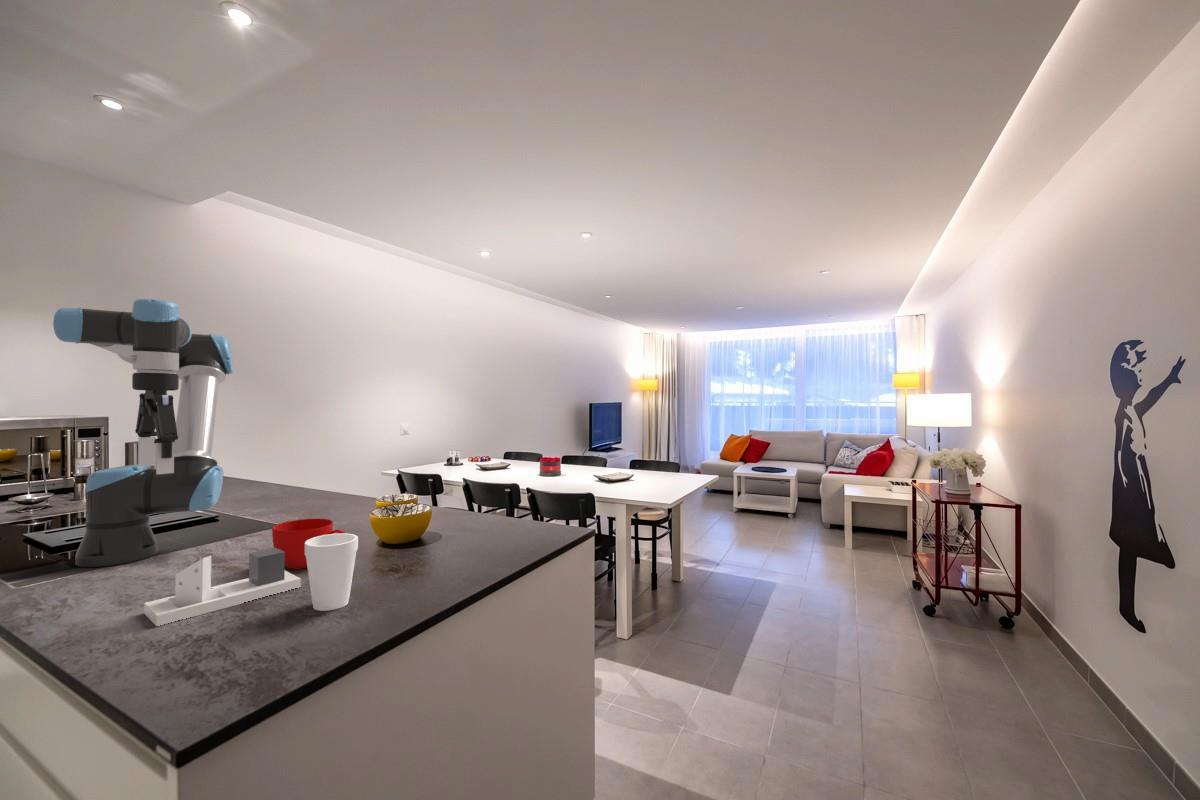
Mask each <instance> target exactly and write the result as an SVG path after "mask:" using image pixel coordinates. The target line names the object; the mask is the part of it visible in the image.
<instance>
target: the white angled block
mask: <svg viewBox="0 0 1200 800" xmlns="http://www.w3.org/2000/svg"><path fill="white" fill-rule="evenodd" d="M211 580H212V555H208V556H206V557H203V558H201V559H199V560H198V561H196V562H194V563H193V564H190V565H189V566H187V567H186V568H184V569H181V570H180V571H179V572H177V573H175V582H174V584H175V590H174V593H175V594H174V596H175V606H176V607H177V608H181V607H185V606H189V605H193V604H197V603H201V602H205V601H209V600H213V599H217V598H219V587H213V586H212V581H211Z"/></svg>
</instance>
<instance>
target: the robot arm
mask: <svg viewBox="0 0 1200 800" xmlns="http://www.w3.org/2000/svg"><path fill="white" fill-rule="evenodd" d="M179 310H180V309H179V305H178V304H177V303H175V302H173V301H167V300H160V299H151V298H150V299H149V298H139V299H135V300H134V302H133V303H132V312H131V311H115V310H105V309H103V310H101V309H93V308H82V307H62V308H59V309H57V311H55V313H54V316H53V323H52V324H53V325H52V326H53V331H54V334H55V337H56V338H57V339H58V340H59V341H61V342H65V343H73V344H90V345H93V346H95V347H98V348H100V349H103V350H106V351H108V352H111V353H114V354H116V355H117V356H118V358H120V359H121V360H123V361H124V362H127V363H129V364H131V365H132V370H135V371H136V372H133V373H132V374H131V375H132V376H131V377H132V378H131V379H132V380H131V381H132V382H131V383H132V384H131V385H132V389H133V390H135V391H145V392H144V393H143V392H141V393H139V406H138V411H137V419H136V426H135V430H134V432H135V434H137V437H138V441H137V442H138V460H137V461H138V462H137V463H138V464H136V463H135V464H129V465H121V466H116V467H111V468H110V467H109V468H105V469H100V470H96V471H94V472H91V473H90V474H89V475H88V476H87V479H86V488H85V490H84V493H85V532H84V534H83V537H82V538H81V541H80V544H79V546H78V547H77V551H76V553H75V556H74V557H75V558H74V565H75V566H76V567H77V566H78V567H83V568H96V567H99V568H100V567H108V566H117V565H122V564H127V563H132V562H133V563H134V562H137V561H141V560H144V559H147V558H150V557H153V556H155V555H156V554H158V550H159V548H158V546H159V545H158V541H157V539H156V536H155V533H154V532H153V530H152V527H151V525H150V515H156V514H169V513H183V512H184V513H185V512H191V513H193V512H196V511H203V510H204V511H205V510H210V509H212V508H213V507H214V506H215V505H216V504H217V503H218V501H219V498H220V496H221V491H222V489H223V483H224V480H223V479H224V469H223V467H222V466H219V465H218V461H217V459H216V458H214V457H213V456H212V455H213V454H212V453H213V452H212V451H213V443H214V432H215V425H216V424H215V422H216V412H217V404H218V403H217V402H218V393H219V384H222V383H223V382H225V380H226V376H227V375H230V374H233V371H234V367H233V355H232V350H231V345H230V341H229V339H228V338H227V337H226V336H224V335H216V334H211V333H209V334H201V333H192V329H191V327H190V325H189V324H188V323H187V322H186V321H185V319H183V318H181V314H180V311H179ZM179 380H181V383H179V382H180V381H179ZM179 385H180V387H179ZM179 388H180V390H179ZM177 390H179V397H178V406H177V413H176V414H175V409H174V396H173V395H172V394H169V395H168V391H173V392H174V391H177ZM175 415H176V416H175ZM152 466H154V467H155V468H152ZM151 468H152V469H151Z"/></svg>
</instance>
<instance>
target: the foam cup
mask: <svg viewBox="0 0 1200 800" xmlns="http://www.w3.org/2000/svg"><path fill="white" fill-rule="evenodd" d="M358 550H359V536H358V535H356V534H354V533H343V534H340V533H333V534H328V535H322V536H318V537H314V538H311V539H309V540H307V541H306V542H305V556H306V560H307V568H306V569H307V574H308V581H309V582H308V583H309V589H310V595H311V596H310V597H311V602H312V608H313V609H314V610H315V611H321V612H325V611H326V612H328V611H334V610H338V609H341V608H343V607H345V606H346V605H348V604H349V601H350V595H351V591H352V590H351V589H352V583H353V582H352V581H353V578H354V577H353V575H354V569H355V563H356V557H357V551H358Z"/></svg>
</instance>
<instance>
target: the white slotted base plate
mask: <svg viewBox="0 0 1200 800" xmlns="http://www.w3.org/2000/svg"><path fill="white" fill-rule="evenodd" d="M285 566H286V565H285V552H284V551H281V550H279V549H277V548H274V547H273V548H272V547H271V548H268V549H263V550H262V549H261V550H259V551H258V550H257V551H252V552H249V553H248V577H247V578H243V579H239V580H235V581H231V582H227V583H226V582H225V583H221V584H218V585H217V584H216V585H214V586H212V587H219V598H217V599H213V600H209V601H205V602H201V603H197V604H193V605H189V606H185V607H181V608H177V607H176V606H175V595H172V596H168V597H163V598H160V599H154V600H151V601H146V602H144V605H143V606H144V607H143V610H144V611H143V613H144V615H145V616H146V617H147V618H148V619H149V620H150V622H152V624H153V625H154V626H155V627H157V626H158V627H161V626H164V624H165V625H168V623H169V624H172V623H176V622H179V621H178V620H180V621H183V620H186V618H187V619H190V617H191V618H194V617H197V616H202V615H205V614H209V613H213V612H216V611H219V610H224V609H227V608H231V607H234V606H238V605H242V604H245V603H244V602H246V603H249V602H248V601H250V602H253V601H252V600H254V599H257V600H259V599H258V598H261V599H263V598H262V597H265V596H268V597H270V596H269V595H272V596H274V595H273V594H276V595H278V594H277V593H279V594H281V593H280V592H283V593H286V592H285V591H287V592H289V591H288V590H290V591H292V590H291V589H294V590H296V589H295V588H298V589H300V588H299V587H302V578H301V577H299V576H297V575H295V574H293V573H291V572H289V571H287V570H286V567H285ZM265 598H266V597H265ZM254 601H255V600H254ZM182 619H183V620H182ZM175 621H176V622H175ZM171 622H172V623H171ZM160 625H161V626H160Z"/></svg>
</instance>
